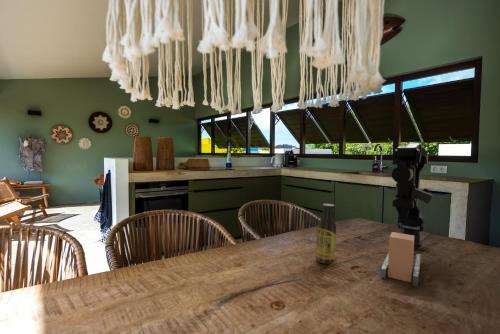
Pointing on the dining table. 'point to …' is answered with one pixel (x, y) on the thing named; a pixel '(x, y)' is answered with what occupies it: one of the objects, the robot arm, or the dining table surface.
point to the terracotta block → (401, 256)
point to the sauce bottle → (326, 235)
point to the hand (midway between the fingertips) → (403, 223)
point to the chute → (415, 274)
